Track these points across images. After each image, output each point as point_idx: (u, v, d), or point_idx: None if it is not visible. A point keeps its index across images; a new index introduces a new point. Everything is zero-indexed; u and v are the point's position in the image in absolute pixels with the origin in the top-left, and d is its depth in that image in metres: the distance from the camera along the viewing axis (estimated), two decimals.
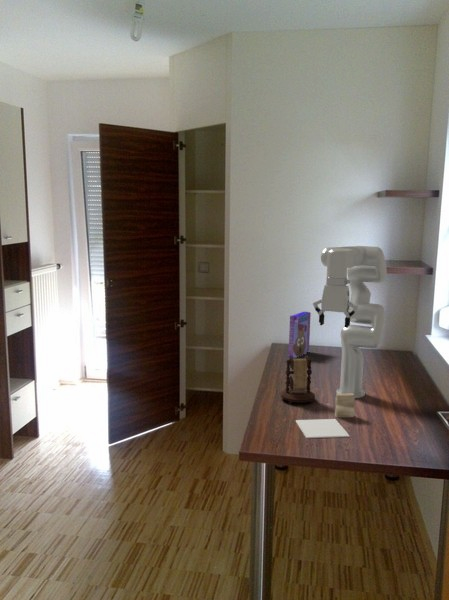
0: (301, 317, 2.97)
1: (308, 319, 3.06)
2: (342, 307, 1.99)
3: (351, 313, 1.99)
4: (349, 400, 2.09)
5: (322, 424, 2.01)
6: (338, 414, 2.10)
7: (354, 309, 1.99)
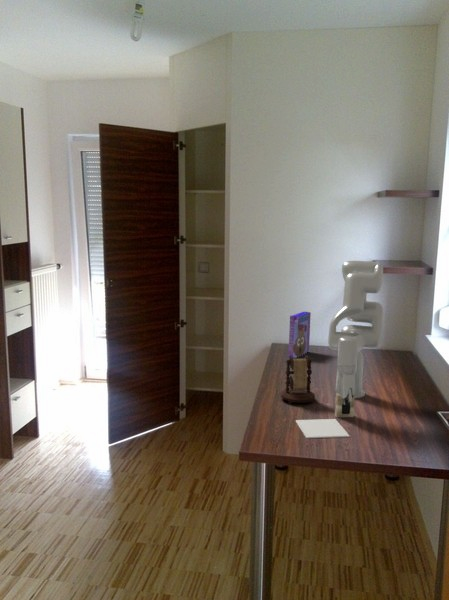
0: (301, 317, 2.97)
1: (308, 319, 3.06)
2: None
3: None
4: None
5: (322, 424, 2.01)
6: (338, 414, 2.10)
7: None
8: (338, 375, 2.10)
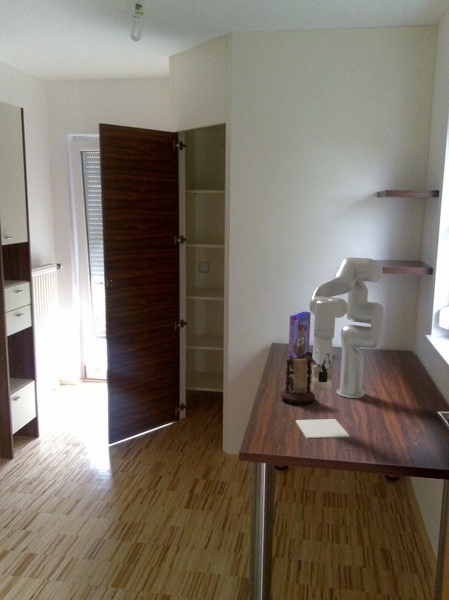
0: (301, 317, 2.97)
1: (308, 319, 3.06)
2: None
3: None
4: None
5: (322, 424, 2.01)
6: (315, 387, 1.98)
7: None
8: (315, 341, 1.98)
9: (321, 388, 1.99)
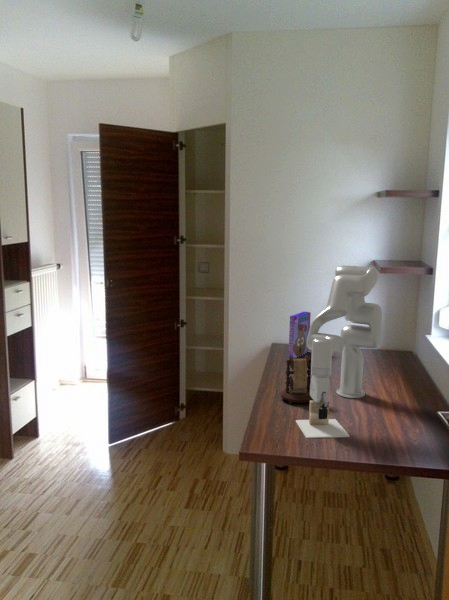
0: (301, 317, 2.97)
1: (308, 319, 3.06)
2: None
3: None
4: None
5: None
6: (312, 422, 2.00)
7: None
8: (312, 378, 2.00)
9: (318, 423, 2.00)
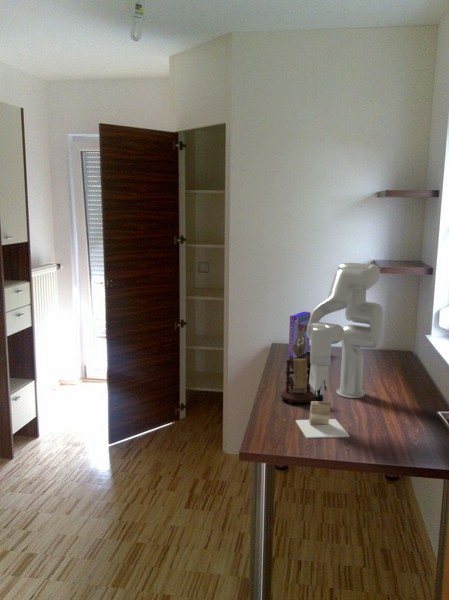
0: (301, 317, 2.97)
1: (308, 319, 3.06)
2: None
3: None
4: (324, 409, 1.98)
5: None
6: (312, 422, 2.00)
7: None
8: (311, 367, 2.01)
9: (318, 423, 2.00)
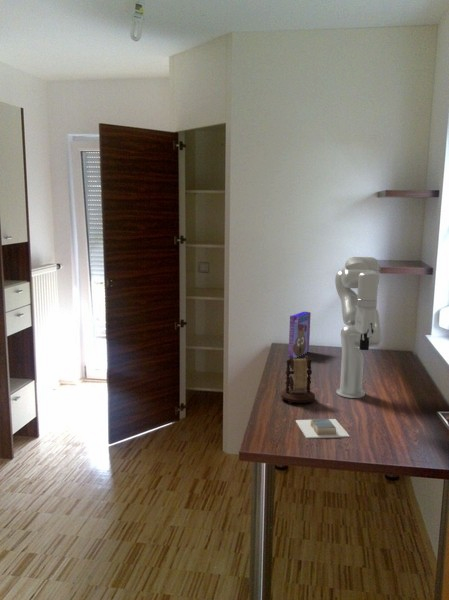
0: (301, 317, 2.97)
1: (308, 319, 3.06)
2: None
3: None
4: None
5: None
6: None
7: None
8: (358, 312, 2.08)
9: None
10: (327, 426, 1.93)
